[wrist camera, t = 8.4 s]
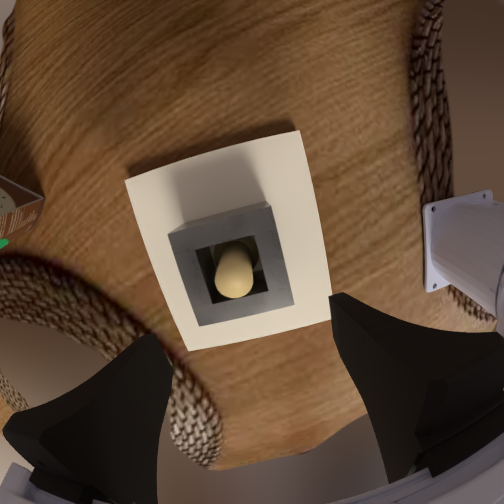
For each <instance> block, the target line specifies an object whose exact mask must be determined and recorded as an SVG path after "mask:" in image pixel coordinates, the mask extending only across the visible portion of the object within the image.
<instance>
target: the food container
mask: <svg viewBox="0 0 504 504" xmlns="http://www.w3.org/2000/svg"><path fill="white" fill-rule="evenodd" d="M44 202H45V198H44V197H42V196H40V195H38V194H36V193H34V192H32V191H30V190H28V189H26V188H24V187H22V186H20V185H18V184H16V183H15V182H13V181H11V180H9V179H7V178H5V177H3V176H1V175H0V249H1V248H2V247H4V246H5V245H7V244H8V243H10V242H11V241H13V240H15V239H16V238H18V237H20V236H21V235H23V234H25V233H26V232H28V231H29V230H30V229H31V228H32V227H33V226H34V225H35V224H36V222H37V221H38V219H39V217H40V215H41V212H42V209H43V206H44Z"/></svg>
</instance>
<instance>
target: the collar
mask: <svg viewBox="0 0 504 504" xmlns="http://www.w3.org/2000/svg"><path fill="white" fill-rule="evenodd" d="M167 235H168V238H169V242H170V245H171V248H172V251H173V254H174V257H175V260H176V263H177V266H178V269H179V272H180V275H181V278H182V281H183V284H184V287H185V290H186V292H187V295H188V298H189V301H190V304H191V306H192V309H193V312H194V314H195V317H196V320H197V322H198V325H199V327H201V326H206V325H210V324H215V323H220V322H225V321H229V320H234V319H238V318H243V317H247V316H251V315H256V314H260V313H264V312H268V311H272V310H276V309H280V308H284V307H288V306H292V305H295V304H294V300H293V295H292V291H291V286H290V282H289V277H288V273H287V269H286V265H285V260H284V256H283V252H282V248H281V244H280V239H279V235H278V231H277V227H276V223H275V219H274V215H273V211H272V207H271V205H270V204H269V203H268V202H267V201H264V202H260V203H256V204H252V205H248V206H244V207H240V208H237V209H233V210H229V211H225V212H222V213H218V214H214V215H211V216H207V217H204V218H200V219H197V220H193V221H190V222H186V223H183V224H182V225H180V226H179V227H177V228H176V229H174V230H173V231H171V232H170V233H168V234H167ZM250 235H254V236H255V240H256V244H257V247H258V251H259V255H260V259H261V263H262V267H263V269H262V270H258V271H254V272H252V273H253V285H252V288H251V290H250V291H249V292H248V293H247V294H246V295H244V296H242V297H239V298H229V297H226V296H224V295H223V294H221V293H220V292H219V291H218V289H217V287H216V285H215V276H216V272H217V270H216V267H215V264H214V261H213V257H212V254H211V251H210V247H209V246H212V245H215V244H219V243H223V242H227V241H231V240H234V239H238V238H242V237H246V236H250Z"/></svg>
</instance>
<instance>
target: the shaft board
mask: <svg viewBox="0 0 504 504" xmlns="http://www.w3.org/2000/svg"><path fill="white" fill-rule="evenodd" d="M125 183H126V187H127V190H128V193H129V197H130V200H131V203H132V207H133V210H134V213H135V216H136V219H137V223H138V226H139V229H140V232H141V235H142V238H143V240H144V243H145V246H146V249H147V252H148V255H149V257H150V260H151V263H152V266H153V268H154V271H155V274H156V276H157V279H158V281H159V284H160V286H161V289H162V291H163V294H164V296H165V299H166V301H167V304H168V306H169V309H170V311H171V313H172V316H173V318H174V320H175V323H176V325H177V327H178V329H179V332H180V334H181V336H182V338H183V340H184V343H185V345H186V347H187V349H188V351H192V350H198V349H204V348H209V347H215V346H220V345H225V344H230V343H235V342H240V341H245V340H249V339H254V338H259V337H263V336H267V335H272V334H276V333H280V332H284V331H288V330H292V329H296V328H300V327H304V326H308V325H311V324H315V323H319V322H322V321H326V320H329V319H331V313H330V306H329V298H328V296H331V295H332V291H331V284H330V277H329V271H328V264H327V258H326V252H325V247H324V241H323V235H322V230H321V225H320V219H319V214H318V209H317V204H316V199H315V195H314V190H313V185H312V181H311V176H310V172H309V168H308V163H307V159H306V155H305V151H304V147H303V143H302V139H301V135H300V131H299V130H298V131H293V132H288V133H283V134H279V135H274V136H269V137H265V138H261V139H256V140H252V141H248V142H244V143H240V144H236V145H232V146H229V147H225V148H221V149H218V150H214V151H210V152H207V153H204V154H200V155H197V156H194V157H190V158H187V159H184V160H181V161H178V162H175V163H172V164H169V165H166V166H163V167H160V168H157V169H154V170H151V171H149V172H146V173H143V174H140V175H138V176H135V177H132V178H130V179H127V180H125ZM264 201H267V202H268V203H269V204H270V205H271V207H272V211H273V215H274V219H275V223H276V227H277V231H278V235H279V239H280V244H281V248H282V252H283V256H284V260H285V265H286V269H287V273H288V277H289V282H290V286H291V291H292V295H293V300H294V304H295V305H292V306H288V307H284V308H280V309H276V310H272V311H268V312H264V313H260V314H256V315H251V316H247V317H243V318H238V319H234V320H229V321H225V322H220V323H215V324H210V325H206V326H201V327H199V325H198V322H197V320H196V317H195V314H194V312H193V309H192V306H191V304H190V301H189V298H188V295H187V292H186V290H185V287H184V284H183V281H182V278H181V275H180V272H179V269H178V266H177V263H176V260H175V257H174V254H173V251H172V248H171V245H170V242H169V238H168V235H167V234H168V233H170V232H171V231H173V230H174V229H176V228H177V227H179V226H180V225H182V224H183V223H186V222H190V221H193V220H197V219H200V218H204V217H207V216H211V215H214V214H218V213H222V212H225V211H229V210H233V209H237V208H240V207H244V206H248V205H252V204H256V203H260V202H264ZM209 247H210V251H211V254H212V257H213V261H214V264H215V267H216V270H217V272H216V276H215V285H216V287H217V289H218V291H219V292H220V293H221V294H223V295H224V296H226V297H229V298H239V297H242V296H244V295H246V294H247V293H248V292H249V291H250V290H251V288H252V285H253V273H252V272H254V271H258V270H262V269H263V267H262V263H261V259H260V255H259V251H258V247H257V244H256V240H255V236H254V235H250V236H246V237H242V238H238V239H234V240H231V241H227V242H223V243H219V244H215V245H212V246H209Z"/></svg>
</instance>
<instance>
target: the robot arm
mask: <svg viewBox="0 0 504 504" xmlns="http://www.w3.org/2000/svg"><path fill="white" fill-rule="evenodd" d="M492 195H493V194H492V191H491V190H489V189H486V190H482V191H478V192H473V193H469V194H465V195H461V196H457V197H452V198H448V199H444V200H440V201H436V202H432V203H427V204H425V205H424V206H423V210H422V211H423V225H424V246H425V291H427V292H428V293H429V292H432V291H435V290H437V289H440V288H442V287H445V286H447V285H449V284H452V285H454V286H455V287H456V288H458V289H459V290H461V291H462V292H463V293H465V294H466V295H467V296H469V297H470V298H471V299H473V300H474V301H475V302H477V303H478V304H479V305H481V306H482V307H483V308H485V309H486V310H487V311H488V312H490V313H491V314H492V315H493V316H495V317H496V318H497V319H498V324H497V328H496V330H497V331H498V332H499V333H501V334H502V335H503V336H504V203H501V202H497V201H494V200H493V196H492ZM432 207H433V211H432V210H431V209H432ZM433 285H434V286H433ZM328 298H329V306H330V313H331V322H332V330H333V338H334V341H335V343H336V346H337V349H338V351H339V354H340V357H341V359H342V361H343V363H344V365H345V366H346V368H347V370H348V372H349V374H350V376H351V378H352V380H353V382H354V384H355V385H356V387H357V389H358V391H359V393H360V395H361V397H362V399H363V402H364V404H365V406H366V409H367V412H368V415H369V417H370V420H371V423H372V426H373V429H374V432H375V435H376V438H377V441H378V445H379V448H380V452H381V455H382V459H383V462H384V466H385V470H386V474H387V478H388V482H389V485H386V486H383V487H381V488H378V489H375V490H372V491H369V492H367V493H363V494H360V495H357V496H354V497H350V498H347V499H343V500H340V501H336V502H332V503H328V504H495V503H496V502H498V501H499V500H500V499H501V498H503V497H504V391H503V388H504V338H503V337H502V336H501V335H500V334H499V333H497V332H481V333H467V332H453V331H445V330H439V329H434V328H428V327H424V326H420V325H416V324H413V323H410V322H406V321H403V320H400V319H397V318H395V317H393V316H390V315H388V314H385V313H383V312H381V311H379V310H376V309H374V308H372V307H370V306H368V305H366V304H364V303H363V302H361V301H359V300H357V299H355V298H353V297H351V296H350V295H348V294H346V293H344V292H342V293H338V294H334V295H331V296H328ZM172 377H173V368H172V366H171V365H170V363H169V361H168V359H167V357H166V355H165V353H164V351H163V349H162V347H161V345H160V343H159V341H158V339H157V337H156V335H155V334H149V335H143V336H141V337H140V338H138V339H137V340H136V341H134V342H133V343H132V344H131V345H129V346H128V347H127V348H126V349H125V350H124V351H123V352H121V353H120V354H119V355H118V356H117V357H116V358H114V359H113V360H112V361H111V362H110V363H109V364H107V365H106V366H105V367H104V368H102V369H101V370H100V371H99V372H97V373H96V374H95V375H94V376H92V377H91V378H90V379H88V380H87V381H86V382H84V383H82V384H81V385H79V386H78V387H76V388H74V389H73V390H71V391H69V392H67V393H66V394H64V395H62V396H60V397H58V398H56V399H54V400H52V401H49V402H47V403H45V404H42V405H40V406H37V407H34V408H31V409H27V410H24V411H20V412H16V413H14V414H13V415H12V416H11V417H10V419H9V420H8V422H7V423H6V425H5V426H4V428H3V429H2V431H3V435H4V437H5V438H6V440H7V441H8V442H9V444H10V445H11V446H12V447H13V448H14V449H15V450H16V451H17V452H18V453H19V454H20V455H21V456H22V457H23V458H24V459H25V460H27V461H28V462H29V463H30V464H31V465H32V466H33V467H35V468H34V470H33V472H31V471H30V470H28V469H26V468H25V467H22V466H20V465H18V464H16V463H12V464H11V466H10V468H9V470H8V472H7V473H6V475H5V477H4V480H3V482H2V484H1V486H0V504H158V500H157V455H158V445H159V436H160V432H161V427H162V423H163V419H164V415H165V412H166V408H167V404H168V400H169V396H170V392H171V386H172Z"/></svg>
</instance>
